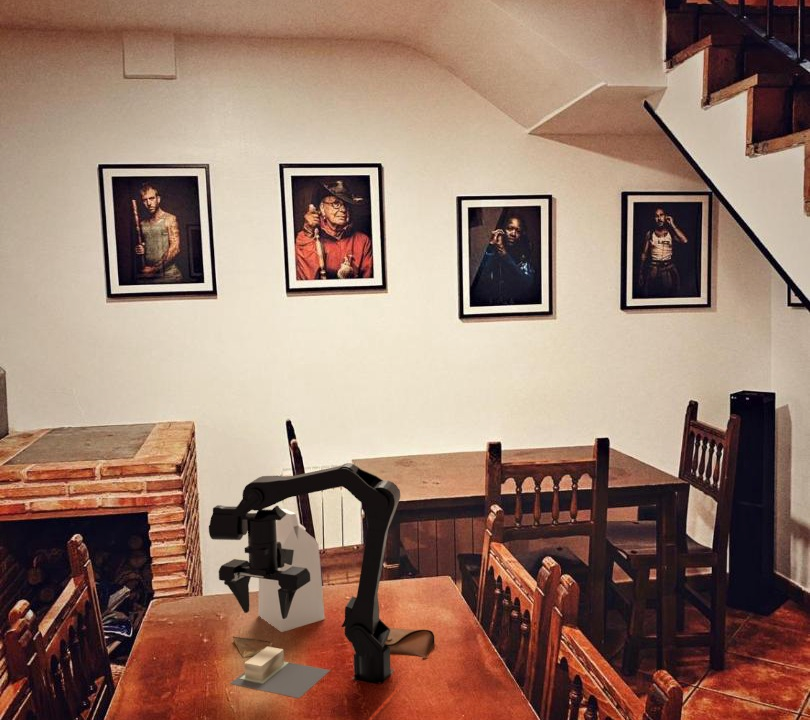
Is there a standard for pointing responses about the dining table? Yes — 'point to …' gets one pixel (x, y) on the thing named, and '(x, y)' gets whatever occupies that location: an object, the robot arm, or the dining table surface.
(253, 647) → the shard
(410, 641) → the sunglasses case
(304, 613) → the milk
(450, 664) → the dining table surface
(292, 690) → the mat
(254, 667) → the birch block
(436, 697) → the dining table surface
